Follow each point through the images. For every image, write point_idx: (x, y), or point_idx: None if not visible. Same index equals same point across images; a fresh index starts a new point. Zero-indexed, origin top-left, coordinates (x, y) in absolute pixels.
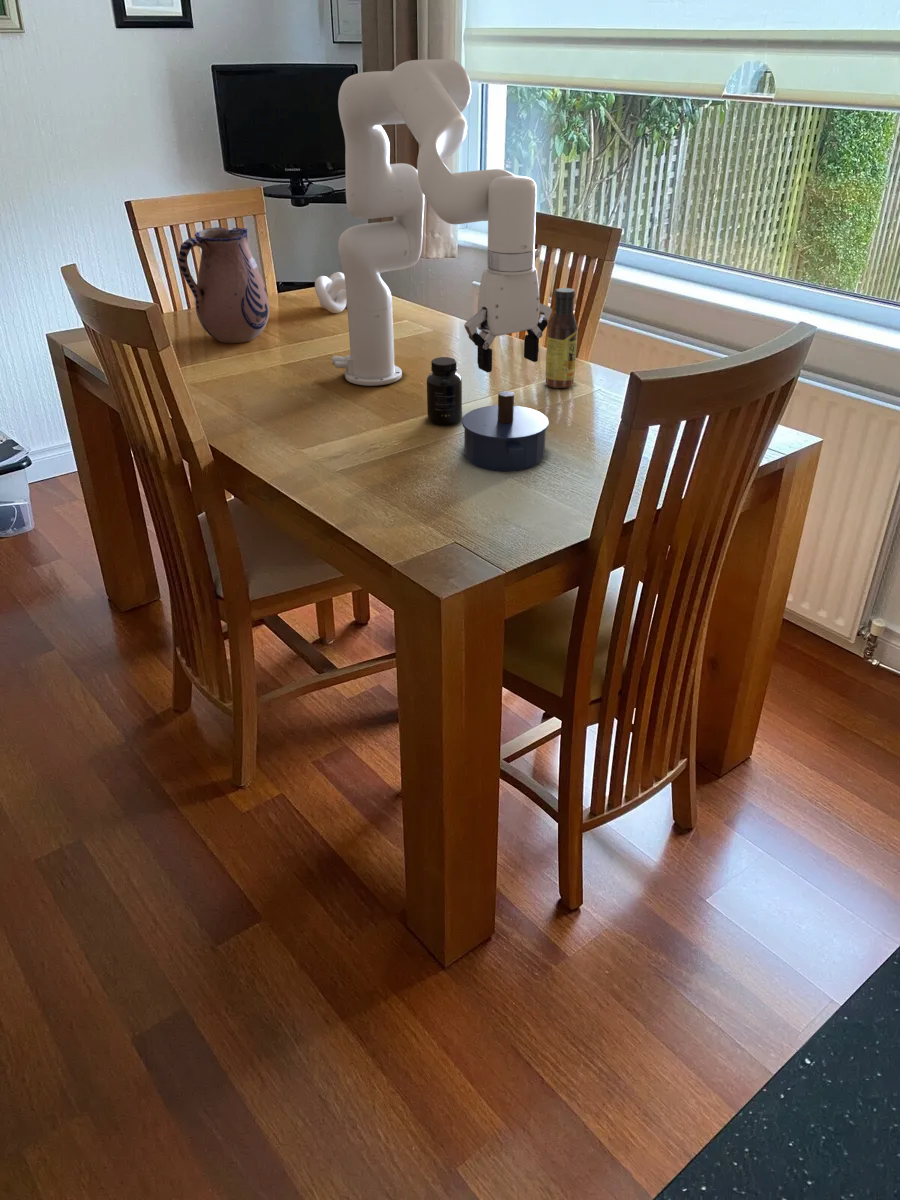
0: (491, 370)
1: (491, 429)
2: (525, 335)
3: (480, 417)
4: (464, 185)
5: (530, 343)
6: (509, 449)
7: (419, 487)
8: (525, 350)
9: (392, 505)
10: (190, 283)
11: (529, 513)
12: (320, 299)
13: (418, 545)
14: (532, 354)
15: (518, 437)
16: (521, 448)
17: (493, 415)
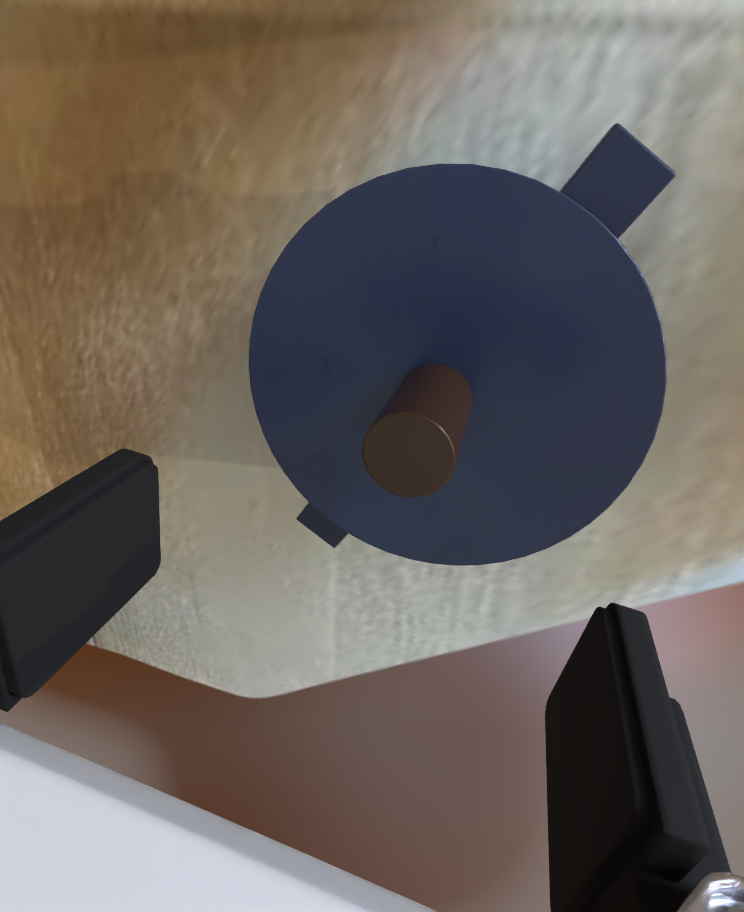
0: (154, 571)
1: (321, 413)
2: (658, 832)
3: (380, 281)
4: None
5: (579, 820)
6: (298, 519)
7: (106, 318)
8: (602, 673)
9: (11, 342)
10: None
11: (247, 597)
12: None
13: (6, 503)
14: (555, 741)
15: (346, 530)
16: (334, 543)
17: (447, 311)
